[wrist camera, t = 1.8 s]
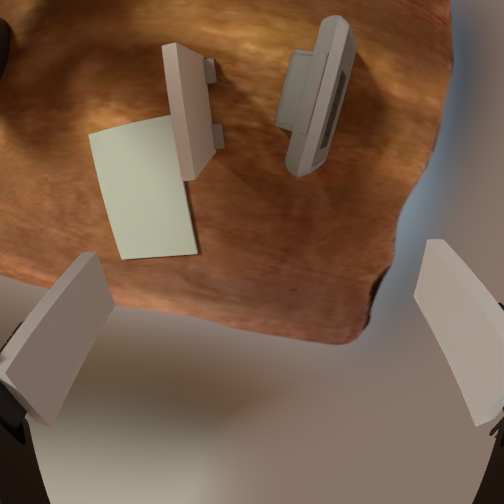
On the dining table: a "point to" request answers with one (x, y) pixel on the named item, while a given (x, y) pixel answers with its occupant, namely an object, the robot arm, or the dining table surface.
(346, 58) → the digital clock
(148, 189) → the mat
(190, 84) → the screen
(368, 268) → the dining table surface
